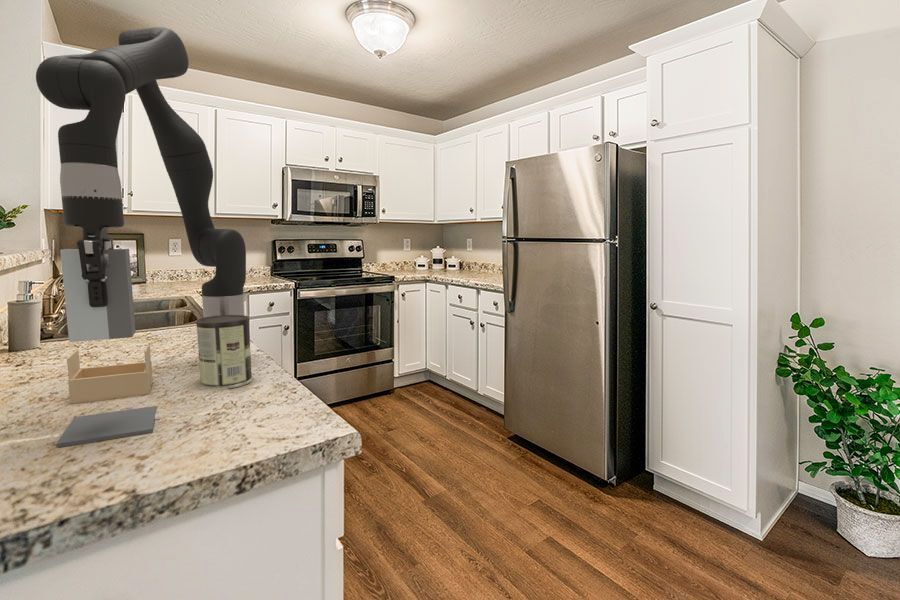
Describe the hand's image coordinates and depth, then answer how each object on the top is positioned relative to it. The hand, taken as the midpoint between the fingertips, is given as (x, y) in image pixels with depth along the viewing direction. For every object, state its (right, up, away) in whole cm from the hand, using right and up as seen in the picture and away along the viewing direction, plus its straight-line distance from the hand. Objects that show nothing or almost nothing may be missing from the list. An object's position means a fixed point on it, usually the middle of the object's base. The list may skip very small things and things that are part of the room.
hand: (102, 304), depth 75 cm
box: (0, -5, +1) cm, 5 cm away
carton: (-11, -18, +18) cm, 28 cm away
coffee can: (+7, -17, +27) cm, 33 cm away
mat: (0, -20, +2) cm, 20 cm away
